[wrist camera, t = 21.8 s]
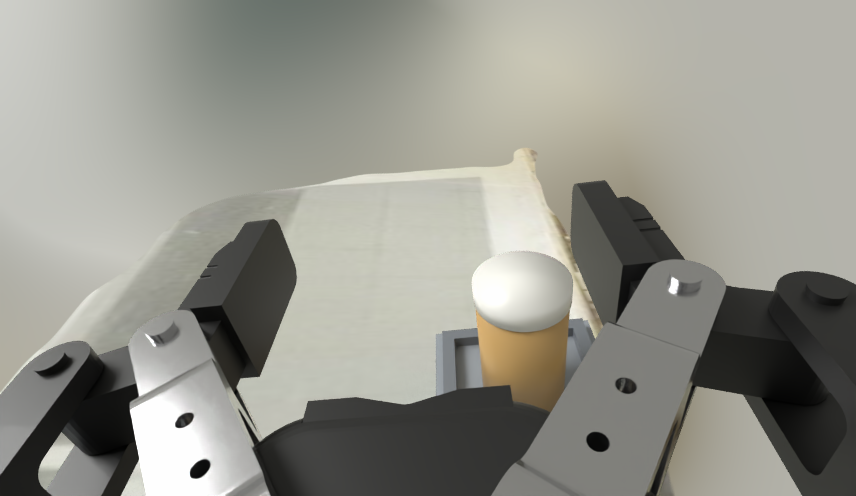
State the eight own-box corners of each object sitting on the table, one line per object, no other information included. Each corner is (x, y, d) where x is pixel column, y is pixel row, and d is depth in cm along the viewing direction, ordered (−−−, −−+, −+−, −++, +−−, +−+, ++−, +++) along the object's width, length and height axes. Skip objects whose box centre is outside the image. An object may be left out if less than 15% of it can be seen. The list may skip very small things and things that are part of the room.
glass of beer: (484, 428, 33) (473, 318, 26) (480, 360, 38) (470, 254, 31) (572, 426, 32) (583, 311, 26) (557, 357, 37) (562, 247, 31)
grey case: (448, 530, 34) (434, 473, 30) (445, 384, 45) (434, 326, 41) (633, 521, 33) (647, 459, 28) (583, 372, 44) (588, 311, 39)
